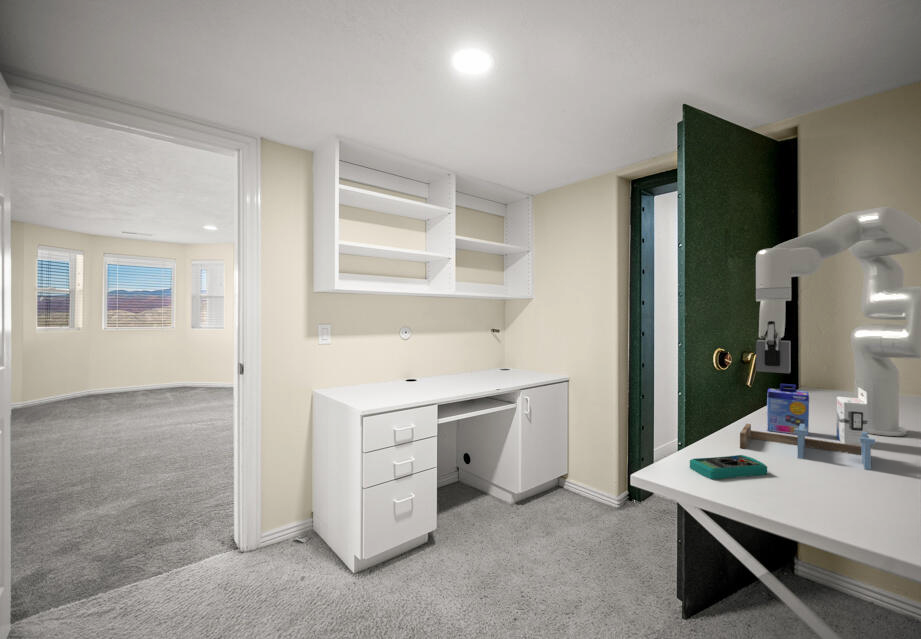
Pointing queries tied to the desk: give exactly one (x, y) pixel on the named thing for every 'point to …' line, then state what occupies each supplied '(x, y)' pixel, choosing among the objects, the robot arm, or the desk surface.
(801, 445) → the pair of blue brackets
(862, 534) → the desk surface
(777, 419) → the ink cartridge box
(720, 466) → the digital multimeter
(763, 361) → the charcoal plug
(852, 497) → the desk surface
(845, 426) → the ink box
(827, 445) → the brown l-shaped bracket
